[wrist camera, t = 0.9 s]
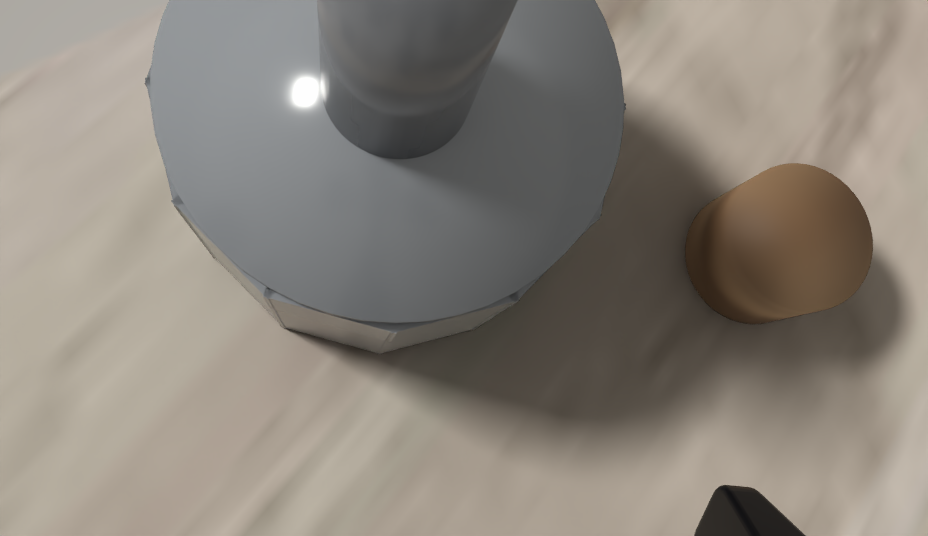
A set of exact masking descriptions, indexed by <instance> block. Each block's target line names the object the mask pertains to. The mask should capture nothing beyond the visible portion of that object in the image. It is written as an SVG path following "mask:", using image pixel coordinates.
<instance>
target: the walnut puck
mask: <svg viewBox="0 0 928 536" xmlns="http://www.w3.org/2000/svg"><path fill="white" fill-rule="evenodd" d="M872 252H873V239H872V232H871V227H870V224H869V220H868V217H867V215H866V212H865V210H864V208H863V206H862V205H861V203H860V201H859V200H858V198H857V197H856V196H855V194H854V193H853V192H852V191H851V190H850V188H849V187H848V186H847V185H845V184H844V183H843V182H842V181H841V180H840V179H838V178H837V177H835V176H834V175H833V174H831V173H829V172H827V171H825V170H823V169H820V168H818V167H815V166H811V165H807V164H798V163H794V164H783V165H778V166H775V167H772V168H770V169H768V170H765V171H763V172H762V173H760V174H758V175H756V176H755V177H753V178H751V179H749V180H748V181H746V182H744V183H743V184H741V185H739V186H737V187H736V188H734V189H732V190H730V191H729V192H727V193H725V194H723V195H722V196H720V197H718V198H716V199H715V200H713V201H712V202H710V203H709V204H707V205H706V206H705V207H704V208H703V209H702V210H701V211H700V212H699V213H698V215H697V216H696V217H695V219H694V221H693V222H692V224H691V227H690V229H689V231H688V235H687V239H686V246H685V258H686V265H687V269H688V273H689V276H690V279H691V281H692V283H693V285H694V287H695V289H696V291H697V292H698V293H699V295H700V296H701V298H702V299H703V300H704V301H705V302H706V303H707V304H708V305H709V306H710V307H711V308H712V309H713V310H715V311H716V312H718V313H719V314H721V315H723V316H724V317H726V318H728V319H731V320H734V321H737V322H741V323H746V324H762V323H767V322H772V321H776V320H781V319H785V318H790V317H794V316H799V315H803V314H808V313H813V312H817V311H822V310H826V309H829V308H832V307H835V306H837V305H839V304H841V303H843V302H844V301H846V300H847V299H848V298H850V297H851V296H852V295H853V294H854V293H855V292H856V291H857V290H858V289H859V287H860V286H861V284H862V283H863V281H864V279H865V277H866V276H867V273H868V270H869V268H870V264H871V260H872Z"/></svg>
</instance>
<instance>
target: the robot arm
mask: <svg viewBox="0 0 928 536" xmlns="http://www.w3.org/2000/svg"><path fill="white" fill-rule="evenodd" d="M694 536H805V535H804V534H803V533H802V532H801V531H800V530H799V529H798V528H797V527H796V526H795V525H794V524H793V523H792V522H791V521H789V520H788V519H787V518H786V517H785V516H784V515H783V514H782V513H781V512H780V511H779V510H778V509H777V508H776V507H775V506H774V505H772V504H771V503H770V502H769V501H768V500H767V499H766V498H765V497H764V496H763V495H762V494H761V493H759V492H758V491H757V490H755V489H753V488H750V487H741V486H730V485H723V486H720V487H718V488H717V489H716V490H715V492H714V493H713V495H712V497H711V499H710V501H709V504H708V506H707V508H706V510H705V512H704V514H703V516H702V518H701V520H700V523H699V525H698V527H697V529H696V532H695V535H694Z"/></svg>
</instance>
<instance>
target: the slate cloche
mask: <svg viewBox="0 0 928 536" xmlns="http://www.w3.org/2000/svg"><path fill="white" fill-rule="evenodd" d="M145 80H146V81H145V85H146V86H147V89H148V93H149V98H150V104H151V111H152V117H153V124H154V130H155V136H156V139H157V142H158V146H159V149H160V152H161V156H162V159H163V162H164V165H165V168H166V173H167V177H168V182H169V186H170V190H171V195H172V199H173V200H172V203H173V204H174V207H175V208H176V209H177V210H178V212H179V213H180V214H181V216H182V217H183V218H184V220H185V221H186V222H187V224H188V225H189V226H190V228H191V229H192V230H193V231H194V233H195V234H196V235H197V237H198V238H199V239H200V241H201V242H202V243H203V245H204V246H205V247H206V248H207V250H208V251H209V252H210V254H211V255H212V256H213V258H216V259H217V260H218V261H219V262H220V263H221V264H222V265H223V266H224V267H225V268H226V269H227V270H228V272H229V273H230V274H231V275H232V276H233V277H234V278H235V279H236V280H237V281H238V282H239V283H240V284H241V285H242V286H243V287H244V288H245V289H246V290H247V291H248V292H249V293H250V294H251V295H252V296H253V297H254V298H255V299H256V300H257V301H258V302H259V303H260V304H261V305H262V306H263V307H264V308H265V309H266V310H267V311H268V312H269V313H270V314H271V315H272V316H273V317H274V318H275V319H276V320H277V321H278V322H279V324H280V326H281V327H283V328H284V329H285V328H288V329H291V330H295V331H299V332H302V333H306V334H310V335H313V336H317V337H321V338H324V339H328V340H331V341H335V342H339V343H342V344H346V345H350V346H353V347H357V348H361V349H364V350H368V351H372V352H375V353H377V354H382V353H384V352H388V351H392V350H396V349H400V348H403V347H407V346H411V345H415V344H419V343H423V342H426V341H430V340H434V339H438V338H442V337H446V336H449V335H453V334H457V333H461V332H465V331H469V330H474V329H476V328H477V327H479V326H480V325H482V324H484V323H485V322H487V321H488V320H490V319H491V318H493V317H494V316H496V315H498V314H499V313H501V312H502V311H504V310H505V309H507V308H509V307H510V306H512V305H513V304H515V303H516V302H518V301H519V298H520V297H521V296H522V295H523V294H524V293H525V292H526V291H527V290H528V289H529V288H530V287H531V286H532V285H533V284H534V283H535V282H536V281H537V280H538V279H539V278H540V277H541V276H542V275H543V274H544V273H545V272H546V271H547V270H548V269H549V268H550V267H551V266H552V265H553V264H554V263H555V262H556V261H557V260H559V259H560V258H561V257H562V256H563V255H564V254H565V253H566V252H567V251H568V250H569V248H570V247H571V246H572V245H573V244H574V243H575V242H576V241H577V240H578V239H579V238H580V236H581V235H582V234H583V233H584V232H585V231H586V230H587V229H588V228H589V227H590V226H591V225H592V224H594V223H595V222H596V221H598V220H599V219H600V216H601V210H602V206H603V201H604V197H605V193H606V191H607V189H608V187H609V185H610V183H611V180H612V176H613V173H614V170H615V166H616V163H617V160H618V156H619V151H620V145H621V139H622V132H623V119H624V111H625V109H626V107H625V106H626V104H625V103H624V95H623V86H622V77H621V70H620V66H619V61H618V57H617V53H616V49H615V45H614V42H613V39H612V37H611V34H610V32H609V29H608V26H607V24H606V21H605V18H604V16H603V14H602V13H601V11H600V9H599V7H598V5H597V3H596V1H595V0H169V2H168V4H167V7H166V9H165V11H164V13H163V16H162V19H161V23H160V26H159V30H158V33H157V36H156V40H155V43H154V50H153V58H152V65H151V68H150V70H149V73H148V76H147V78H145Z"/></svg>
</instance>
